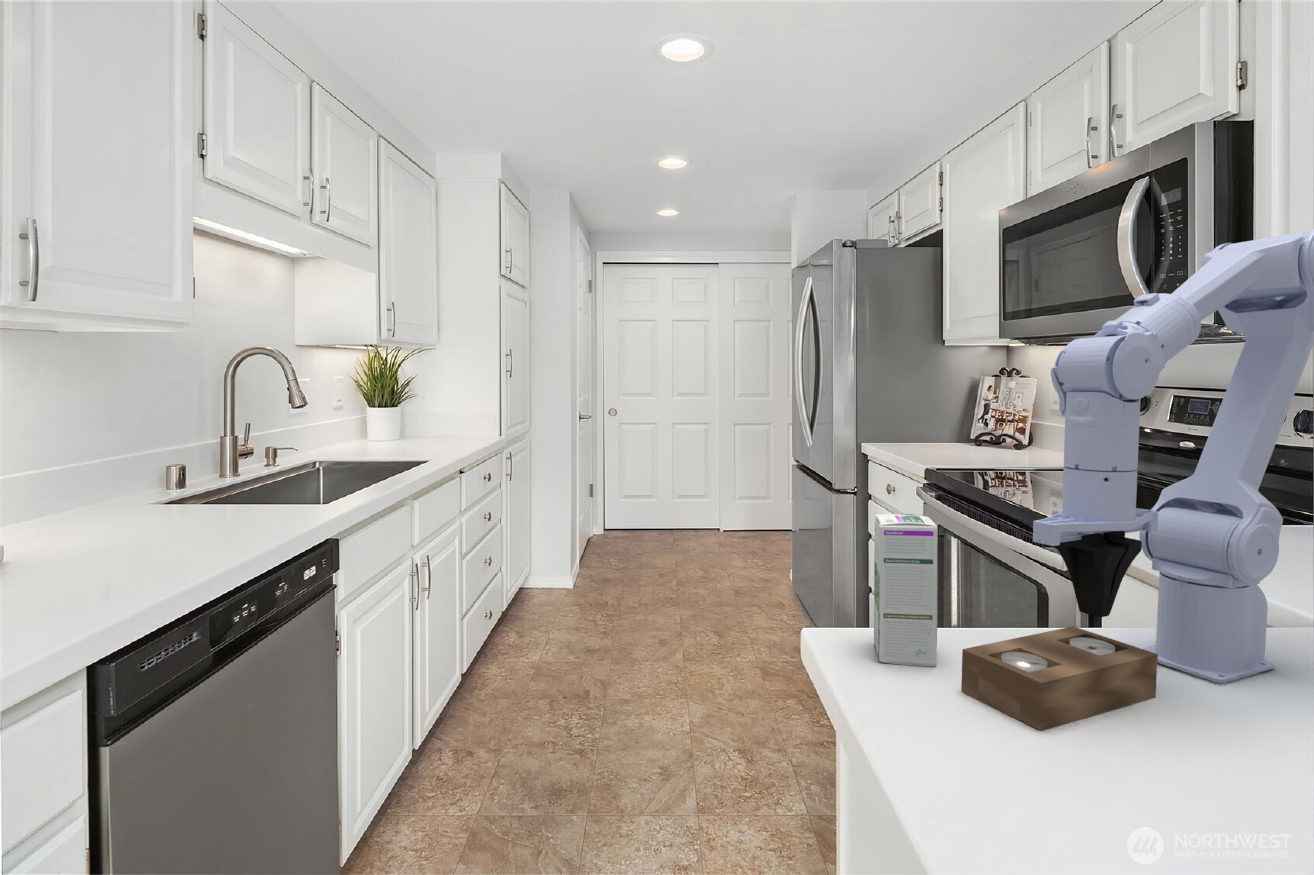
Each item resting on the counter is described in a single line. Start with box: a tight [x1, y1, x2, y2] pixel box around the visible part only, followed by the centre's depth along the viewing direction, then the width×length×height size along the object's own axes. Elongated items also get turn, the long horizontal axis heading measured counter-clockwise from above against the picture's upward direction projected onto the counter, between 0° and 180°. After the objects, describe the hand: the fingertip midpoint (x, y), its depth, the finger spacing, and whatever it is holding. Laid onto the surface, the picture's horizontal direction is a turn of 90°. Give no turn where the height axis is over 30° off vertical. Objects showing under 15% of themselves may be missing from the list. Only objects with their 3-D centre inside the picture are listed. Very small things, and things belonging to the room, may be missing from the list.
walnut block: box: [960, 625, 1158, 731], centre depth 63 cm, size 15×8×4 cm, turn 114°
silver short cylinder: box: [1070, 637, 1115, 656], centre depth 65 cm, size 4×4×4 cm
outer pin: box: [1001, 652, 1048, 672], centre depth 61 cm, size 4×4×4 cm
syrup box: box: [873, 513, 939, 668], centre depth 72 cm, size 6×6×14 cm
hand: (1094, 613), depth 65 cm, fingers closed
